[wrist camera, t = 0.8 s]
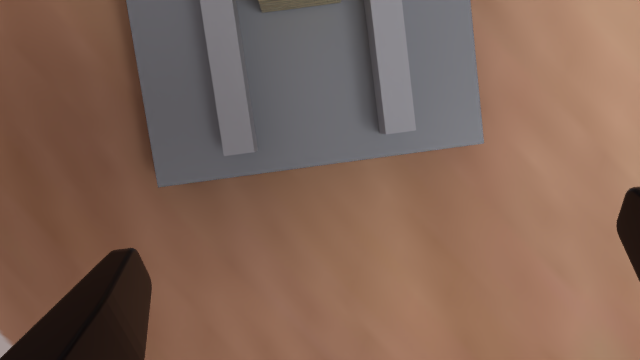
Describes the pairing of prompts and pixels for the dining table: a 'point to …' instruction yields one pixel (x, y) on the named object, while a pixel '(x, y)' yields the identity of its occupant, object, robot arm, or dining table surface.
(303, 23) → the lock plate
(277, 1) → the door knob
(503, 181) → the dining table surface
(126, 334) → the robot arm
